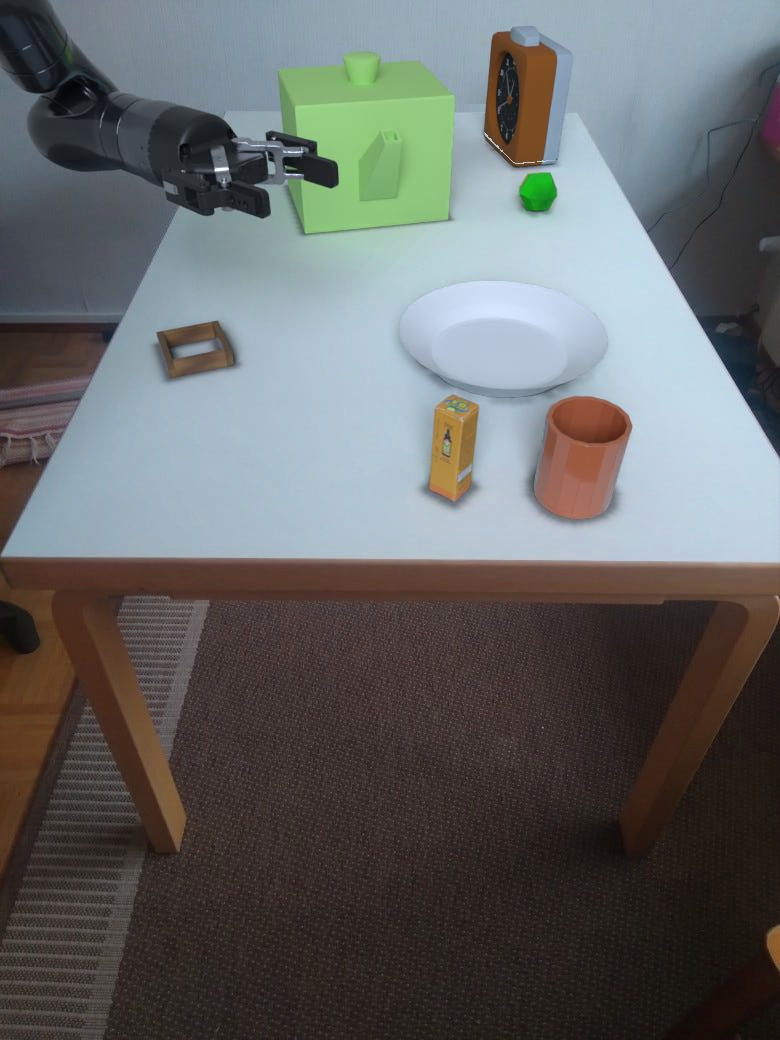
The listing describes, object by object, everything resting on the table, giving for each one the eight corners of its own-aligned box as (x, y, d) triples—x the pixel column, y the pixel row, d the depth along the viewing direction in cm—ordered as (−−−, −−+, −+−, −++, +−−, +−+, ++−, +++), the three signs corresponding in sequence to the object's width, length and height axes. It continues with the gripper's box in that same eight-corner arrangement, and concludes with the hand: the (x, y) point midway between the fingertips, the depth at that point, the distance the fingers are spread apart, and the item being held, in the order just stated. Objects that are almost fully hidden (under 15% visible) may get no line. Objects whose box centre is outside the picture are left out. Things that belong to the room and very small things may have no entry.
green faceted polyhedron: (552, 169, 115) (529, 150, 121) (520, 199, 117) (500, 178, 123) (573, 201, 120) (550, 180, 126) (542, 229, 122) (521, 207, 128)
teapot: (313, 257, 110) (301, 95, 95) (283, 173, 134) (269, 33, 119) (463, 241, 114) (475, 83, 98) (408, 162, 138) (410, 25, 123)
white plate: (593, 432, 80) (599, 405, 77) (374, 396, 85) (373, 369, 82) (608, 319, 97) (614, 294, 94) (425, 294, 102) (426, 270, 99)
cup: (558, 527, 70) (575, 454, 63) (519, 478, 75) (532, 406, 68) (626, 507, 72) (649, 434, 65) (583, 460, 77) (601, 388, 70)
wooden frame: (170, 378, 87) (166, 364, 86) (159, 345, 92) (155, 331, 91) (234, 365, 89) (231, 350, 88) (220, 333, 94) (217, 320, 93)
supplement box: (473, 485, 74) (482, 404, 67) (454, 503, 72) (461, 422, 65) (447, 472, 75) (453, 391, 68) (427, 489, 73) (431, 408, 66)
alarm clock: (481, 137, 148) (491, 16, 134) (522, 134, 150) (536, 14, 135) (514, 170, 135) (529, 40, 121) (558, 166, 137) (578, 37, 122)
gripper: (105, 125, 63) (235, 167, 56) (228, 88, 71) (355, 121, 64) (127, 212, 68) (248, 261, 61) (239, 169, 76) (358, 208, 69)
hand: (303, 190), depth 62 cm, fingers open, 8 cm apart
